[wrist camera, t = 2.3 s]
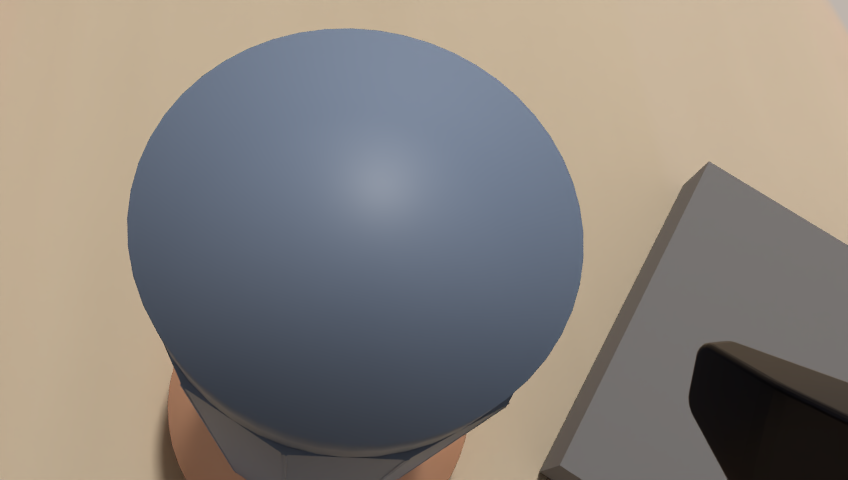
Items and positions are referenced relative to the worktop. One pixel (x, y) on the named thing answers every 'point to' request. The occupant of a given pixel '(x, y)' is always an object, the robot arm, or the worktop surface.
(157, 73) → the worktop surface
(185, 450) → the terracotta saucer
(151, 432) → the worktop surface
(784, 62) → the worktop surface
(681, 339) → the rubber mat
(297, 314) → the domed octagonal peg
